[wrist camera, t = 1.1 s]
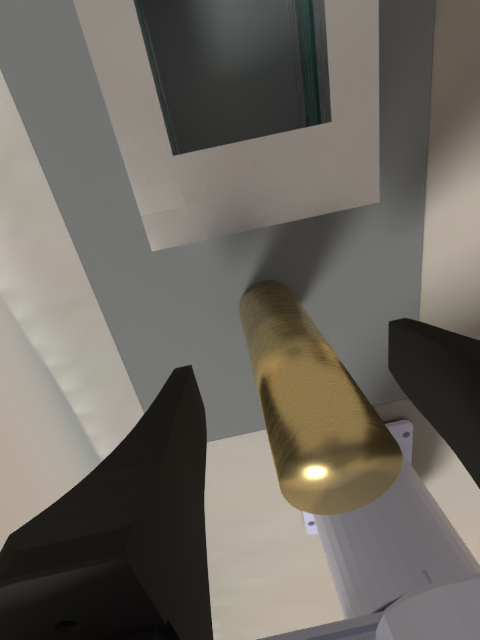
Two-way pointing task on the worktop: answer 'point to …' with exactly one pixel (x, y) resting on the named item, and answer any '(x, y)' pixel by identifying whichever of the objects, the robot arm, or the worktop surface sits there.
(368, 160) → the grey teal hollow block
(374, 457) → the pin
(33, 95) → the mat
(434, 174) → the worktop surface
